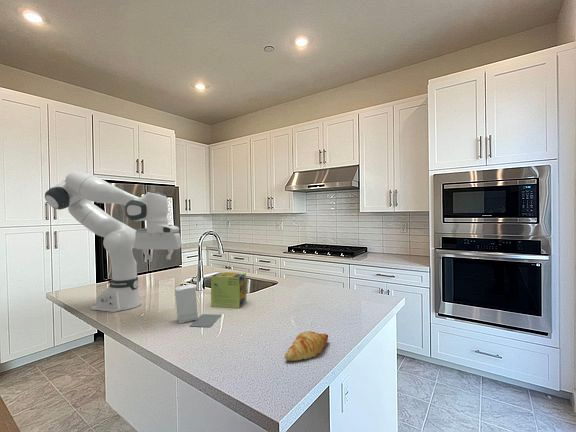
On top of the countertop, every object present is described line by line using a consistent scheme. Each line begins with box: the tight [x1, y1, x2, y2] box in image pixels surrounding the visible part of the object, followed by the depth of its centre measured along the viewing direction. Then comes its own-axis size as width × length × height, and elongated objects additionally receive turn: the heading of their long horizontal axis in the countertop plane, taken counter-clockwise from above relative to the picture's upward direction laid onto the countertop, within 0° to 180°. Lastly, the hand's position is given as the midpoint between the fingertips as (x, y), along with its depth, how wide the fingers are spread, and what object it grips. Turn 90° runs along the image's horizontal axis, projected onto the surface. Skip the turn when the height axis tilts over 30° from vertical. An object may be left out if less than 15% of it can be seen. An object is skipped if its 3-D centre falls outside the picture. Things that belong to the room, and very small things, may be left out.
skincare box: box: [174, 283, 199, 324], centre depth 132 cm, size 8×6×15 cm
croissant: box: [284, 330, 329, 362], centre depth 103 cm, size 21×10×8 cm, turn 136°
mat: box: [189, 313, 222, 328], centre depth 132 cm, size 9×14×1 cm, turn 174°
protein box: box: [210, 271, 247, 309], centre depth 154 cm, size 10×15×16 cm
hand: (158, 259), depth 133 cm, fingers open, 8 cm apart
